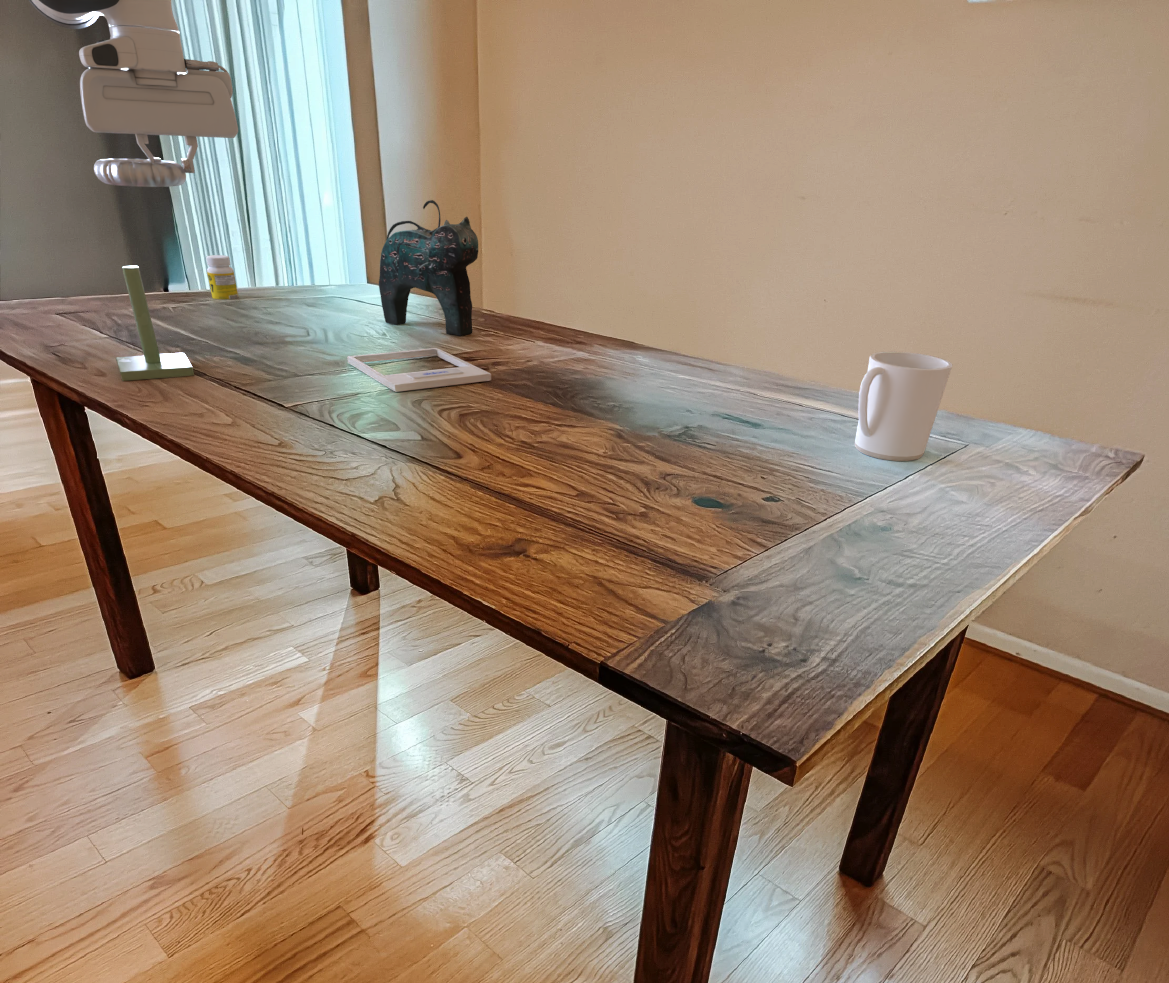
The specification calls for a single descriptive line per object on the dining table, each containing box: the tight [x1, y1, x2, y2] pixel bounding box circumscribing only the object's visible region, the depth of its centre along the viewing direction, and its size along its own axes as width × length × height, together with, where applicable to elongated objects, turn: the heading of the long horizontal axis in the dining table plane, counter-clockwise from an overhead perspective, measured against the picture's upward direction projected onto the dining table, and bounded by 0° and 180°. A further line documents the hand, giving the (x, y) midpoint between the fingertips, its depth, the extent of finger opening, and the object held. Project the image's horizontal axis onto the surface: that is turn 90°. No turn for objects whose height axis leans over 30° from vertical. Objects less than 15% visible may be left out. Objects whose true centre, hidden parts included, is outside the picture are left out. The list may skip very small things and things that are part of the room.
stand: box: [115, 265, 195, 382], centre depth 111 cm, size 9×9×13 cm
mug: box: [854, 350, 953, 462], centre depth 94 cm, size 11×9×10 cm
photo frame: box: [346, 347, 492, 393], centre depth 119 cm, size 15×1×18 cm
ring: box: [93, 158, 187, 188], centre depth 120 cm, size 12×12×3 cm
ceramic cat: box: [378, 199, 479, 337], centre depth 140 cm, size 20×6×20 cm, turn 59°
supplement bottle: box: [205, 254, 239, 300], centre depth 154 cm, size 5×5×8 cm
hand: (173, 172), depth 122 cm, fingers closed on ring, 3 cm apart
